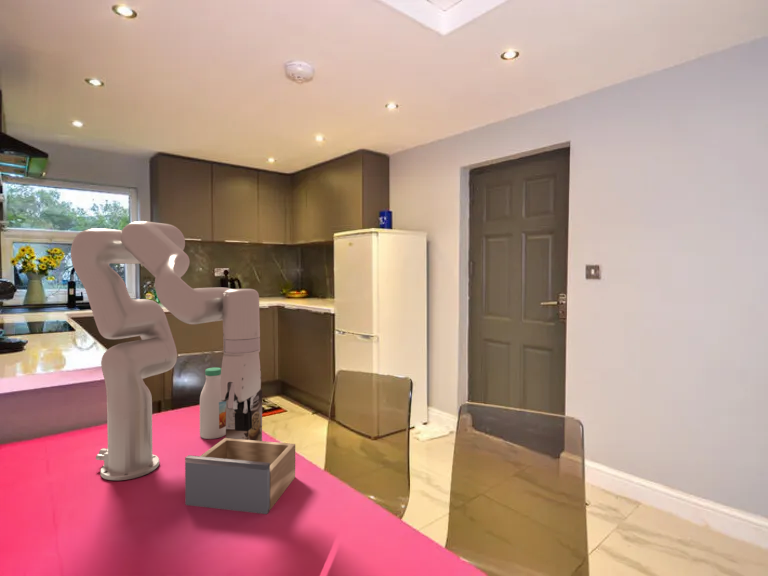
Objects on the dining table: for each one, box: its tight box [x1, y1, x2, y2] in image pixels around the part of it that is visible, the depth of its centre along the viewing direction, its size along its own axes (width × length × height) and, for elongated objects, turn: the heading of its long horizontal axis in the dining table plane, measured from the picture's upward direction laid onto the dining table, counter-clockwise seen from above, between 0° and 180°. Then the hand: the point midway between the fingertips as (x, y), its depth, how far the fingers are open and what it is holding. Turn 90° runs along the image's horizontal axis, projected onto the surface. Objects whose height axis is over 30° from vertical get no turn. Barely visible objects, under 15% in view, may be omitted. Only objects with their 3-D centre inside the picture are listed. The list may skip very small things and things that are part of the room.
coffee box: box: [225, 388, 263, 441], centre depth 119 cm, size 9×6×16 cm
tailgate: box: [184, 455, 271, 515], centre depth 89 cm, size 18×1×11 cm, turn 81°
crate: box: [200, 437, 296, 511], centre depth 97 cm, size 18×14×9 cm
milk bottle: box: [199, 367, 226, 440], centre depth 129 cm, size 8×8×20 cm
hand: (243, 429), depth 94 cm, fingers closed
